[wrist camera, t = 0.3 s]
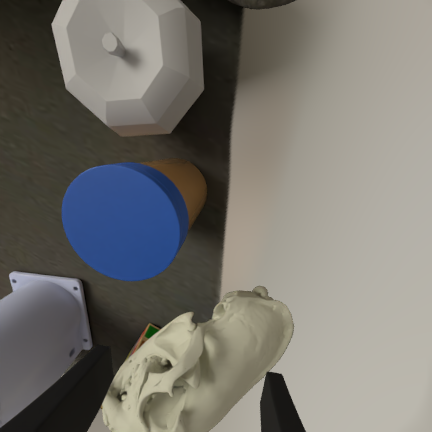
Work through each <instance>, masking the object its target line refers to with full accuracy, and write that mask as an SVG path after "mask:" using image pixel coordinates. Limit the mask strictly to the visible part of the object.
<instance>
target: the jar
mask: <svg viewBox="0 0 432 432" xmlns="http://www.w3.org/2000/svg"><path fill="white" fill-rule="evenodd" d="M140 164H144V165H147V166H150V167H152V168H154V169H156V170H158V171H160V172H161V173H163V174H164V175H165V176H167V177H168V178H169V179H170V180H171V181H172V182H173V183H174V184H175V186H176V187H177V188H178V190H179V191H180V193H181V194H182V196H183V198H184V201H185V203H186V206H187V210H188V216H189V226H188V231H189V229H190V227H191V226H192V224H193V223H194V221H195V219H196V218H197V216H198V215H199V213H200V211H201V210H202V208H203V206H204V204H205V202H206V198H207V186H206V182H205V179H204V177H203V175H202V174H201V172H200V171H199V170H198V169H197V168H196V167H195V166H194V165H193V164H191V163H190V162H188V161H186V160H183V159H178V158H169V159H162V160H156V161H149V162H142V163H140Z"/></svg>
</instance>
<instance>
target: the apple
mask: <svg viewBox="0 0 432 432" xmlns="http://www.w3.org/2000/svg"><path fill="white" fill-rule="evenodd" d="M52 29H53V33H54V38H55V42H56V47H57V51H58V55H59V60H60V64H61V68H62V73H63V77H64V81H65V86H66V89H67V90H68V91H69V92H70V93H71V94H72V95H74V96H75V97H76V98H77V99H78V100H79V101H80V102H81V103H83V104H84V105H85V106H86V107H87V108H88V109H89V110H90V111H91V112H93V113H94V114H95V115H96V116H97V117H98V118H99V119H100V120H101V121H103V122H104V123H105V124H106V125H107V126H108V127H110V128H111V129H112V130H114V131H115V132H116V133H118V134H119V135H120V136H122V137H123V136H139V135H154V134H170V133H171V132H172V130H173V129H174V128H175V127H176V125H177V124H178V123H179V121H180V120H181V119H182V117H183V116H184V115H185V114H186V112H187V111H188V110H189V108H190V107H191V106H192V105H193V103H194V102H195V101H196V99H197V98H198V97H199V96H200V94H201V93H202V92H203V90H204V77H203V58H202V38H201V21H200V20H199V19H198V18H197V17H196V16H195V15H194V14H193V13H192V12H191V11H190V10H189V9H188V8H187V6H186V5H185V4H184V3H183V2H182V1H181V0H63V1H62V3H61V5H60V7H59V9H58V12H57V14H56V16H55V18H54V20H53V22H52Z"/></svg>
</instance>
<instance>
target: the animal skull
mask: <svg viewBox="0 0 432 432" xmlns="http://www.w3.org/2000/svg"><path fill="white" fill-rule="evenodd" d="M213 313H214V314H213V316H212V319H211V320H210V319H208V322H204V323H196V324H197V325H196V324H195V323H193V322H192V317H193V315H194V312H188V313H184V314H182V315H180V316H179V317H177V318H175V319H174V320H173V321H171V322H170V323H169V324H167V325H166V326H164V327H163V328H162V329H161V330H160V331H158V332H157V333H156V334H154V335H153V336H152V337H151V338H149V339H148V340H147V341H146V342H145V343H144V344H143V345H142V346H141V347H140V348H139V349H138V350H137V351H136V352H134V353H133V354H132V355H131V356H130V357H129V358H128V359H127V360H126V361H125V362H124V363H123V365H122V366H121V367H120V369H119V370H118V372H117V374H116V375H115V377H114V379H113V381H112V384H111V386H110V388H109V390H108V392H107V394H106V397H105V399H104V401H103V403H102V406H103V409H102V414H103V420H104V424H105V426H109V429H110V430H111V432H209V431H210V430H211V429H212V428H213V427H214V426H216V425H217V424H218V423H219V422H220V421H221V420H222V419H223V417H224V416H225V415H226V414H227V413H228V412H229V411H230V409H231V408H232V407H233V406H234V405H235V404H236V403H237V402H238V401H239V400H240V399H241V398H242V397H243V396H244V395H245V394H246V393H247V392H248V391H249V390H250V389H251V388H252V387H253V386H254V385H255V384H256V383H257V382H259V381H260V380H261V379H262V378H263V377H264V376H265V375H266V373H267V372H269V371H270V369H272V368H273V366H274V365H275V364H276V363H277V362H278V360H279V359H280V358H281V357H282V355H283V354H284V352H285V350H286V349H287V346H288V344H289V342H290V340H291V338H292V335H293V331H294V330H293V329H294V324H293V321H292V316H291V313H290V311H289V310H288V308H287V306H286V305H284V304H283V303H282V302H280V301H276V300H273V299H272V298H271V297H269V296H268V292H267V289H266V288H265V287H262V286H257V287H255V288H254V289H253V291H252V292H251V291H233V292H229V293H227V294H226V295H225V296H224V298H223V300H222V301H221V302H220V303H218V304H217V305H216V306H215V308H214V310H213Z"/></svg>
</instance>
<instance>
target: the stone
mask: <svg viewBox="0 0 432 432" xmlns="http://www.w3.org/2000/svg"><path fill="white" fill-rule="evenodd" d="M228 1H230V2H231V3H233V4H236V5H239V6H242V7H245V8H250V9H265V8H266V9H267V8H273V7H278V6H282V5H286V4H288V3H291V2H293V1H295V0H228Z"/></svg>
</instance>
